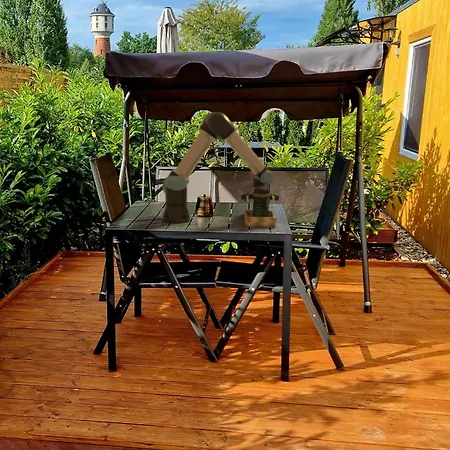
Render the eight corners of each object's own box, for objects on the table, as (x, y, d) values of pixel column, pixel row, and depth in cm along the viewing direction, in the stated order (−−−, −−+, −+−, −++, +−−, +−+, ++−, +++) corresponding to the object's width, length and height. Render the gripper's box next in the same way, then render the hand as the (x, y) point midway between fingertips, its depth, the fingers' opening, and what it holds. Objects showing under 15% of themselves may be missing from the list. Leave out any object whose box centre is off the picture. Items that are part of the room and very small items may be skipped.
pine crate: (244, 226, 241) (244, 217, 240) (244, 218, 261) (244, 210, 260) (275, 227, 241) (276, 217, 240) (273, 219, 260) (273, 210, 259)
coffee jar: (264, 223, 245) (265, 188, 241) (250, 221, 248) (251, 187, 244) (270, 220, 253) (272, 186, 249) (257, 218, 257) (258, 185, 252)
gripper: (281, 200, 266) (284, 207, 245) (237, 200, 267) (236, 206, 246) (281, 187, 264) (284, 193, 244) (237, 186, 265) (236, 192, 244)
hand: (260, 199), depth 245 cm, fingers open, 13 cm apart
